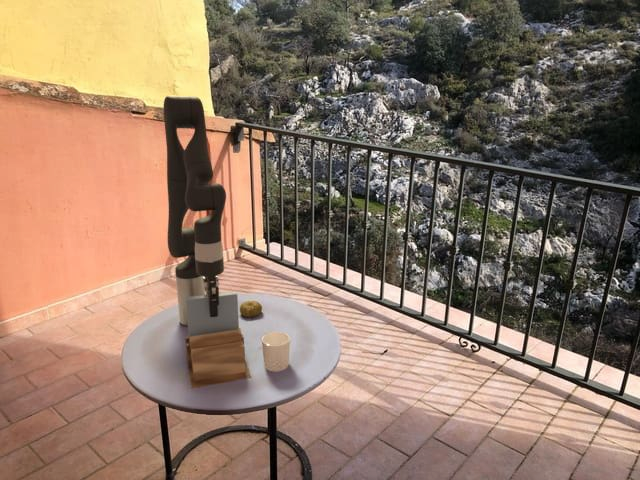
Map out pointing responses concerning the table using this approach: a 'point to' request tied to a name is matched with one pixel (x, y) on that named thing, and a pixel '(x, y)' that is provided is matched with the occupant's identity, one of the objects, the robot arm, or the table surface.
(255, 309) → the sculpture
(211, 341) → the tall oak offcut
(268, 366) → the white cup
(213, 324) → the tall board
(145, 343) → the table surface
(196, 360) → the short oak offcut
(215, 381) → the rack
